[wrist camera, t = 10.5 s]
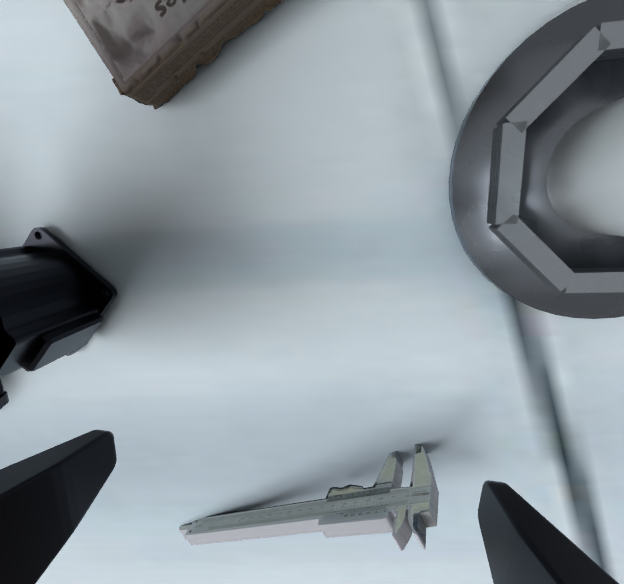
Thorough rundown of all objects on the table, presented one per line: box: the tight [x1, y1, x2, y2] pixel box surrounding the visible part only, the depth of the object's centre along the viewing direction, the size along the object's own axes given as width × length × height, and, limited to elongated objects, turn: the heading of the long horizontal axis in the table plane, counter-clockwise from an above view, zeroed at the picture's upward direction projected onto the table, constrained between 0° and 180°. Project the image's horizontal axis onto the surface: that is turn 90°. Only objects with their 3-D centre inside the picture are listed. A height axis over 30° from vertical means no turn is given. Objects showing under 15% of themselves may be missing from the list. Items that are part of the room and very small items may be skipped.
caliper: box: [179, 445, 439, 550], centre depth 22 cm, size 20×1×6 cm, turn 119°
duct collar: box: [449, 0, 624, 319], centre depth 16 cm, size 15×15×2 cm
